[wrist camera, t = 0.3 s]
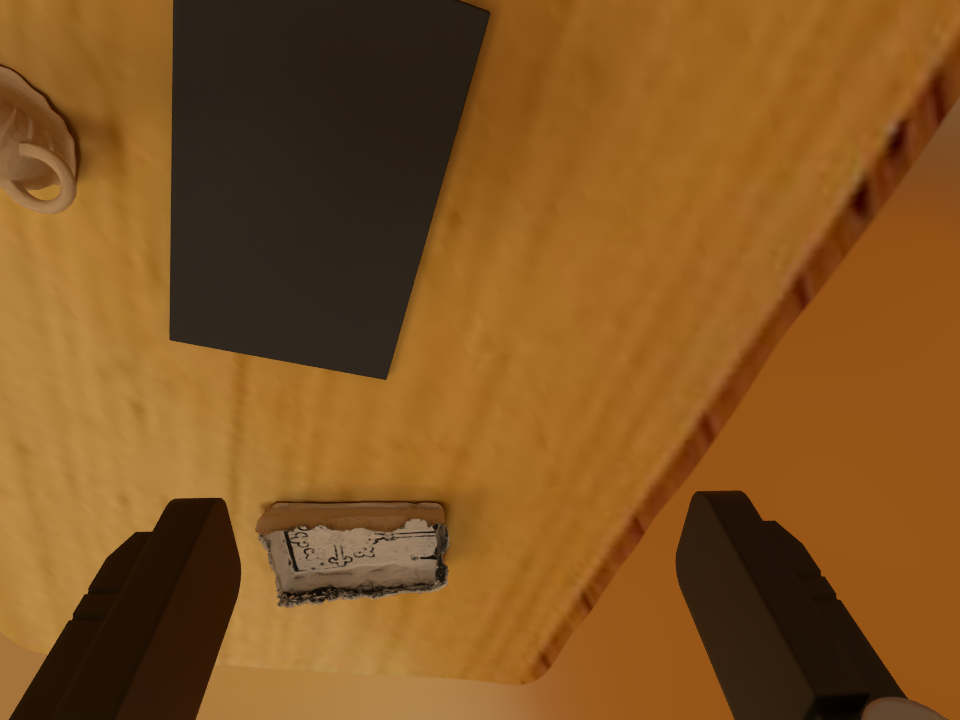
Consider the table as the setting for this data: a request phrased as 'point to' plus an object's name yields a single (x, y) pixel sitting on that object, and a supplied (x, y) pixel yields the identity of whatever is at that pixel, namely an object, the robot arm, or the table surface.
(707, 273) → the table surface
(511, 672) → the table surface
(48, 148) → the decorative ornament
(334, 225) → the mat
